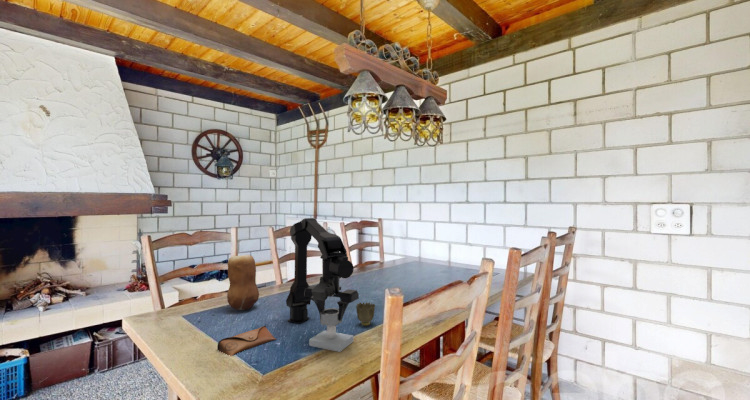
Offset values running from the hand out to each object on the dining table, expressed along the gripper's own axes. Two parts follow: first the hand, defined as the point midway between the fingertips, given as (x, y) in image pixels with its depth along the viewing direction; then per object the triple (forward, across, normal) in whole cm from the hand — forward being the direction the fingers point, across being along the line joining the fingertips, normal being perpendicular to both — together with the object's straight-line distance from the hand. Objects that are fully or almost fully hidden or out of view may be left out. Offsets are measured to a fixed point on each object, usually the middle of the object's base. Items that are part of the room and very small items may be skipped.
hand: (331, 318), depth 113 cm
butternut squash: (+9, -57, +15) cm, 59 cm away
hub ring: (+1, 0, 0) cm, 1 cm away
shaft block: (+8, 0, 0) cm, 8 cm away
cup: (+9, +3, +20) cm, 22 cm away
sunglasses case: (+9, -26, -12) cm, 30 cm away
